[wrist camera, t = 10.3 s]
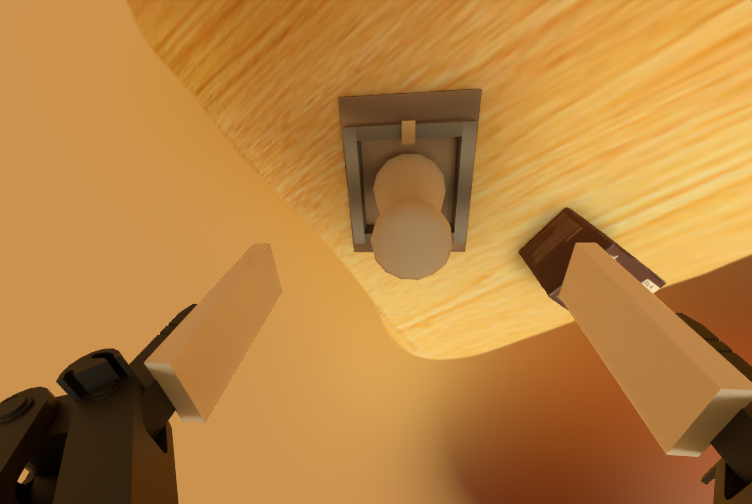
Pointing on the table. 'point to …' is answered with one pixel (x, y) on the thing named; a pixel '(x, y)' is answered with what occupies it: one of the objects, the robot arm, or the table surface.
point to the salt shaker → (410, 218)
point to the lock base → (410, 150)
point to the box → (556, 248)
